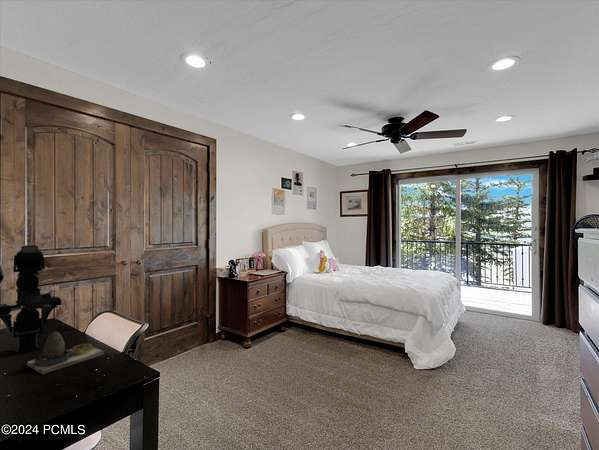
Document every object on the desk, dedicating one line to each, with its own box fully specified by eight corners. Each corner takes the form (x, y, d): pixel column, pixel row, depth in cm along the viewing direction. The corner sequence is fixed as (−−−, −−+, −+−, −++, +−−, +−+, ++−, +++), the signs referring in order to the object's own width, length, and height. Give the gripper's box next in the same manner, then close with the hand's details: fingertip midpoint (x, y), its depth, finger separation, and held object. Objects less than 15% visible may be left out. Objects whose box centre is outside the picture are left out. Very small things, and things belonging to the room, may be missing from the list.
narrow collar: (69, 354, 115) (69, 347, 115) (87, 348, 120) (87, 342, 120) (77, 357, 112) (77, 350, 112) (94, 352, 117) (95, 345, 117)
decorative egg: (42, 365, 104) (43, 336, 104) (44, 359, 109) (44, 331, 109) (64, 360, 107) (64, 332, 108) (64, 355, 112) (65, 328, 112)
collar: (31, 363, 106) (31, 356, 106) (63, 354, 115) (63, 347, 115) (42, 370, 101) (43, 363, 101) (75, 360, 110) (75, 353, 110)
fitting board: (27, 365, 107) (27, 361, 107) (87, 347, 123) (87, 344, 123) (42, 374, 100) (42, 370, 100) (103, 354, 116) (103, 351, 116)
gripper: (1, 293, 97) (0, 342, 97) (68, 284, 113) (68, 326, 113) (-11, 289, 103) (-12, 335, 103) (55, 281, 119) (54, 321, 119)
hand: (27, 329), depth 109 cm, fingers open, 9 cm apart
